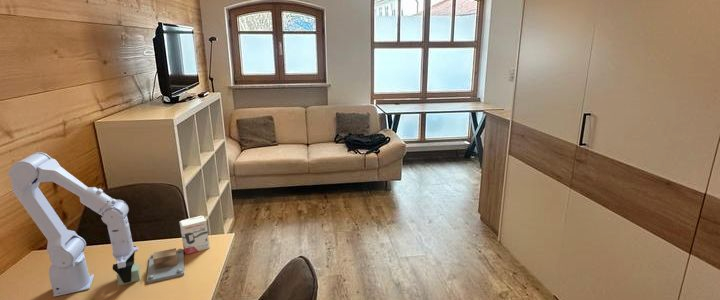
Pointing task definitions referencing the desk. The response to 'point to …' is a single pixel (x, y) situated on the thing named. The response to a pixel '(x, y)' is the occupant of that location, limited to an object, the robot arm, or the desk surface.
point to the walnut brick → (165, 258)
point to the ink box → (194, 234)
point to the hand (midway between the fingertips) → (128, 275)
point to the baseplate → (166, 269)
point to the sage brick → (135, 275)
